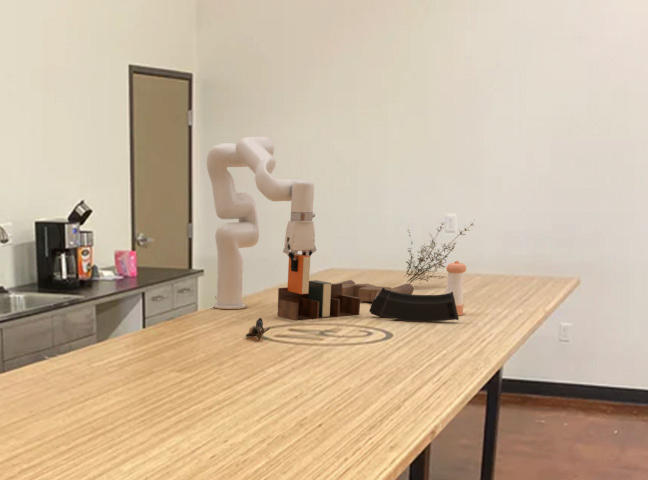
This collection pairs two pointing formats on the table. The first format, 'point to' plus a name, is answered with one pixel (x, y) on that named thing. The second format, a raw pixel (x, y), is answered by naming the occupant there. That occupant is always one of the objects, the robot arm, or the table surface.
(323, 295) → the green book
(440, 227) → the dried plant
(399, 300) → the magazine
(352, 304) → the book rack
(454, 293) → the pepper shaker
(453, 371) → the table surface
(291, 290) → the orange book
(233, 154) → the robot arm
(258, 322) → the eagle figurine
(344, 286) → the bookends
